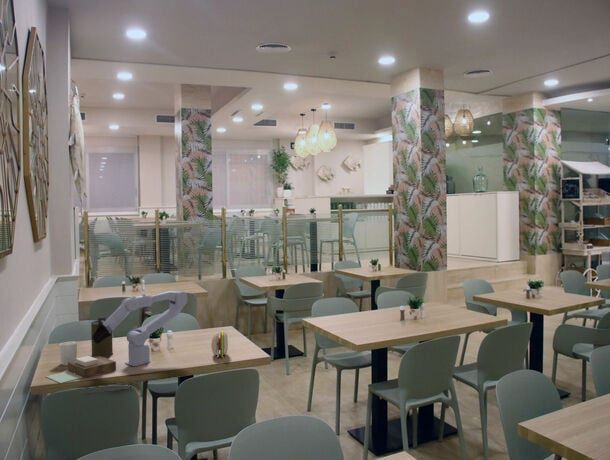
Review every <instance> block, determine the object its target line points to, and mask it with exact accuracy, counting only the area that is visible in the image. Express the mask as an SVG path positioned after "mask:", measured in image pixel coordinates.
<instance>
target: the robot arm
mask: <svg viewBox="0 0 610 460" xmlns="http://www.w3.org/2000/svg"><path fill="white" fill-rule="evenodd" d="M165 300H166V301H167V300H168V301H169V307H168V309H167V310H165V311H164V312H162V313H161V314H159V315H158V316H156V317H155V318H154V319H152V320H150V321H149V322H148V323H146V324H144V325H142V326H140V327H137V328H135V329H131V330H130V331H128V332H127V334H126V341H127V343H128V345H127V346H128V350H127V351H128V361H126V362H124V364H125V365H129V366H132V367H136V366H137V367H138V366H141V365H144V364H149V363H151V359H150V357H151V356H150V352H151V351H150V346H149V345H148V343H146V341H147V340H148V339H150V335H152V334H153V333H155V332H156V331H157V330H159V329H160V328H162V327H163V326H164V325H166V324H167V323H169V322H170V321H172V320H173V319H174V318H175V317H177V316H179V315H180V314H181V312H182V310H183V309H184V307H185V305H186V304H188V294H187V293H186V292H184V291H179V290H178V289H173V290H168V291H164V292H161V293H156V294H154V295H149V294H146V293H142V294H141V295H138V296H132V298H130V297H127V298H125V299H122V300H121V304H120V305H119V306H118V307H117V308H116V310H114V311H113V312H112V313H111V315H109V317H107V318H106V321H105V322H104V321H103V320H102V323H103V325H102V324H101V323H99V325H98V328H97V330H96V332H95V333H94V335H93V336H92V335H91V340H92V339H93V340H94V342H95V343H96V344H98V343H100V342H101V341H102V340H104V339H106V338H108V337H110V336H111V334H110V332H111V331H112V332H114V330H115V329H116V328H117V327H118V326H119V325H120V324H121V323H122V322H123V321H124V320H125V319H126V318H127V316H128V315H129V314H130V313H131V312H135V311H136V310H137V309H138V310H139V309H141V308H144V307H145V308H146V307H148V306H149V307H150V306H151V305H152V303H156V302H161V301H165Z"/></svg>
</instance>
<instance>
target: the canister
mask: <svg viewBox="0 0 610 460" xmlns="http://www.w3.org/2000/svg"><path fill="white" fill-rule="evenodd" d="M102 320H103V321H104V322H105V321H106V320H107V318H106V317H105V316H104V315H103V316H98V317H97V320H94V321H91V322H90V327H91V331H90V332H91V337H92V336H93V335H94V333H95V332H96V330H97V328H98V325H99V323H101V324H102V325H103V323H102ZM110 334H111V336H110V337H108V338H106V339H104V340H102V341H101V342H100V343H98V344H96V343H95V342H94V340H93V339H92V338H91V356H90V357H95V356H101V357H104V358H110V357H113V355H114V353H113V351H114V350H113V331H111V332H110Z"/></svg>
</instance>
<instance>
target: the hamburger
mask: <svg viewBox="0 0 610 460" xmlns="http://www.w3.org/2000/svg"><path fill="white" fill-rule="evenodd" d="M228 340H229V339H228V334H227V332H226V331H224V329H222V330H221V332H220V334H219V332H217V331H216V332H214V334H213V336H212V338H211V351H212V354H213V355H214V356H215V357H216V359H217V358H218V357H219V355H222V356H221V358H222V357H223V358H224V357H226V356H227V355H228V350H229V341H228ZM216 355H217V356H216ZM223 355H224V356H223ZM219 358H220V357H219Z"/></svg>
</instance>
